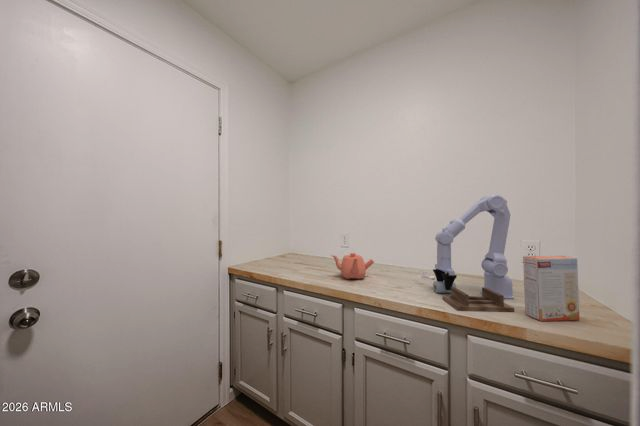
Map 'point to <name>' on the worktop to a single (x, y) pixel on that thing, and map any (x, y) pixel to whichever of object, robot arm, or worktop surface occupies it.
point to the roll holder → (477, 301)
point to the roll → (441, 287)
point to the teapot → (353, 266)
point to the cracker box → (551, 288)
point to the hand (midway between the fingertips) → (444, 287)
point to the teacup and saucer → (426, 275)
